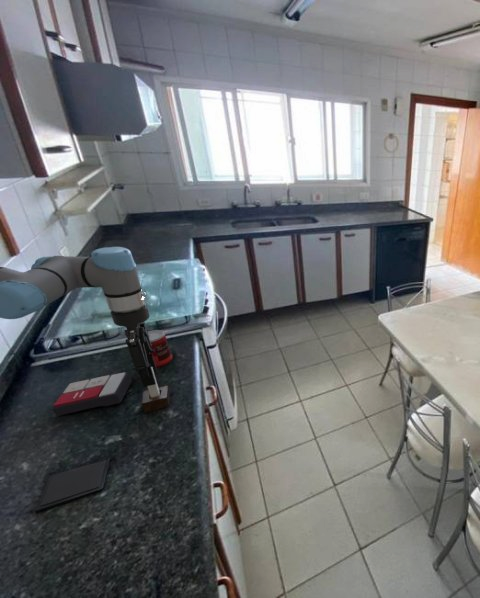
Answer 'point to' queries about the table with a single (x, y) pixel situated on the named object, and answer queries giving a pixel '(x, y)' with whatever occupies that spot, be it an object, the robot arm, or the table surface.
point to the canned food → (160, 348)
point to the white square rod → (154, 388)
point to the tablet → (73, 485)
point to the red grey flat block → (93, 393)
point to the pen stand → (156, 400)
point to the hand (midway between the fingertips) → (150, 378)
